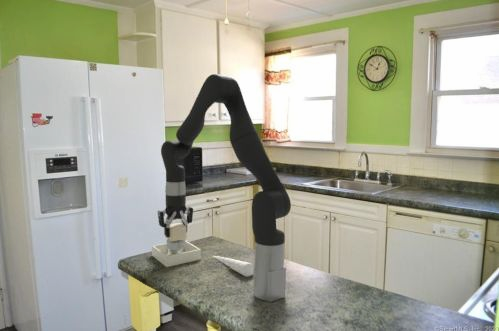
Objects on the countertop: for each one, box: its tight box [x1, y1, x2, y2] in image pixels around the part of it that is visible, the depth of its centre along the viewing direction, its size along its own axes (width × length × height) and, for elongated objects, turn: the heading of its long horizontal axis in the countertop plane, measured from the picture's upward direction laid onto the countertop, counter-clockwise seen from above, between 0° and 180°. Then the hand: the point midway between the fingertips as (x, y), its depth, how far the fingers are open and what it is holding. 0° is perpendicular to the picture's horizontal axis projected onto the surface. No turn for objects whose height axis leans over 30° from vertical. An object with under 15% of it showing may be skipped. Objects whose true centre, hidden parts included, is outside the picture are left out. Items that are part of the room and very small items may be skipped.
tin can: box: [166, 238, 186, 256], centre depth 150 cm, size 7×7×7 cm
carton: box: [164, 222, 187, 241], centre depth 150 cm, size 6×6×5 cm
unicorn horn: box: [212, 255, 254, 278], centre depth 145 cm, size 5×24×5 cm, turn 35°
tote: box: [151, 239, 202, 268], centre depth 151 cm, size 14×14×4 cm
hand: (176, 235), depth 150 cm, fingers open, 6 cm apart
